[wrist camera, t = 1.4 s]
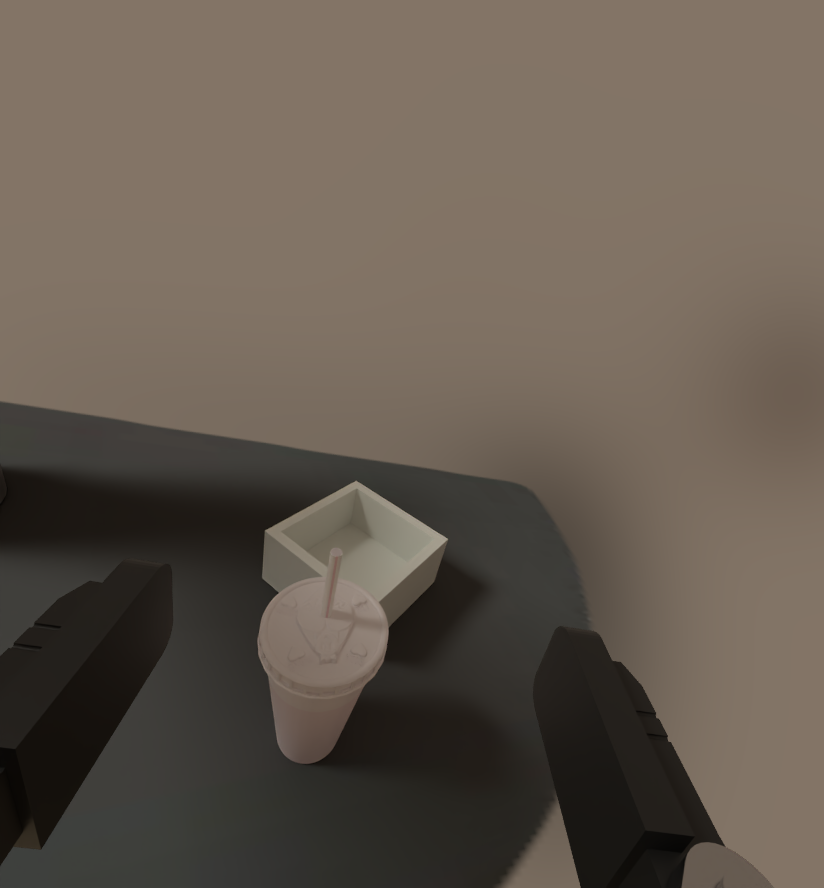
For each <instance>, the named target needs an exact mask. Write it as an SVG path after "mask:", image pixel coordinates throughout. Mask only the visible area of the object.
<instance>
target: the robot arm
mask: <svg viewBox="0 0 824 888" xmlns="http://www.w3.org/2000/svg"><path fill="white" fill-rule="evenodd" d="M6 492H7V486H6V482H5V479H4V475H3V472H2V468H1V465H0V503H1V502H2V501H3V499H4V498H5V496H6ZM172 626H173V599H172V571H171V567H170V565H168V564H164V563H157V562H151V561H144V560H138V559H131V558H128V559H126V560H124V561H123V562H121V563H120V564H119V565H118V566H117V568H116V569H115V570H114V571H113V572H112V573H111V574H110V575H109V576H108V577H107V578H106V579H105V580H104V582H103V583H100V582H93V581H89V582H87V583H85V584H83V585H82V586H80V587H78V588H76V589H75V590H73V591H71V592H70V593H68V594H66V595H64V596H63V597H61V598H59V599H58V600H57V601H56V602H55V603H54V604H53V605H52V606H51V607H50V608H49V609H48V610H47V611H46V612H45V613H44V614H43V615H42V616H41V617H40V618H39V619H38V620H37V621H35V622H34V626H33V627H32V628H30V627H29V628H28V629H27V630H26V631H25V632H24V633H23V634H22V635H21V636H20V637H19V638H18V639H17V640H16V641H15V642H14V645H13V647H12V648H11V649H10V648H8V649H7V650H6V651H5V652H4V653H3V654H2V655H1V656H0V865H1V864H2V862H3V861H4V859H5V858H6V856H7V855H8V853H9V852H10V850H11V849H12V847H21V848H30V849H39V850H41V849H42V847H43V846H44V844H45V842H46V841H47V839H48V838H49V836H50V834H51V833H52V831H53V830H54V828H55V826H56V825H57V823H58V822H59V820H60V818H61V817H62V815H63V813H64V812H65V810H66V809H67V807H68V805H69V804H70V802H71V801H72V799H73V797H74V796H75V794H76V793H77V791H78V789H79V788H80V786H81V784H82V783H83V781H84V780H85V778H86V776H87V775H88V773H89V772H90V770H91V768H92V767H93V765H94V764H95V762H96V760H97V759H98V757H99V755H100V754H101V752H102V751H103V749H104V747H105V746H106V744H107V743H108V741H109V739H110V738H111V736H112V735H113V733H114V731H115V730H116V728H117V726H118V725H119V723H120V722H121V720H122V718H123V717H124V715H125V714H126V712H127V710H128V709H129V707H130V706H131V704H132V702H133V701H134V699H135V697H136V696H137V694H138V693H139V691H140V689H141V688H142V686H143V685H144V683H145V681H146V680H147V678H148V677H149V675H150V673H151V672H152V670H153V669H154V667H155V665H156V664H157V662H158V660H159V659H160V657H161V656H162V654H163V652H164V650H165V648H166V646H167V644H168V641H169V638H170V635H171V631H172ZM533 699H534V707H535V711H536V715H537V719H538V723H539V727H540V731H541V734H542V738H543V742H544V746H545V750H546V754H547V758H548V762H549V766H550V769H551V773H552V777H553V781H554V785H555V789H556V793H557V797H558V801H559V804H560V808H561V812H562V816H563V820H564V824H565V828H566V832H567V835H568V839H569V843H570V847H571V851H572V855H573V859H574V863H575V867H576V871H577V875H578V878H579V882H580V886H581V888H774V887H773V886H772V885H771V884H770V883H769V881H768V880H767V879H766V878H765V877H764V876H763V875H762V874H761V873H760V872H759V871H758V870H757V869H756V868H755V867H754V866H753V865H752V864H751V863H749V862H748V861H747V860H746V859H744V858H743V857H741V856H740V855H739V854H737V853H736V852H734V851H732V850H730V849H728V848H726V847H725V845H724V844H723V842H722V840H721V838H720V837H719V835H718V833H717V831H716V829H715V827H714V825H713V823H712V821H711V819H710V817H709V815H708V814H707V812H706V810H705V808H704V806H703V804H702V802H701V800H700V798H699V796H698V794H697V792H696V790H695V788H694V786H693V785H692V782H691V780H690V778H689V777H688V775H687V773H686V771H685V769H684V767H683V765H682V763H681V761H680V759H679V757H678V755H677V753H676V751H675V749H674V747H673V745H672V743H671V742H668V739H667V737H668V736H667V734H666V732H665V730H664V728H663V726H662V724H661V722H660V720H659V719H657V718H656V712H655V710H654V708H653V707H652V704H651V702H650V701H649V699H648V697H647V695H646V693H645V691H644V689H643V687H642V686H641V684H640V683H639V682H638V681H637V680H636V679H635V678H634V677H633V675H632V674H631V673H630V672H629V671H628V670H627V669H626V667H625V666H624V665H623V664H622V663H621V662H616V661H612V660H611V657H610V655H609V653H608V651H607V649H606V647H605V645H604V643H603V640H602V639H601V637H600V635H599V634H598V633H597V632H594V631H589V630H582V629H576V628H569V627H563V626H560V627H558V628H557V629H556V630H555V632H554V634H553V636H552V638H551V641H550V643H549V645H548V648H547V650H546V652H545V654H544V657H543V659H542V661H541V664H540V666H539V668H538V671H537V673H536V676H535V680H534V687H533Z"/></svg>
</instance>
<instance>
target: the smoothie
mask: <svg viewBox="0 0 824 888" xmlns="http://www.w3.org/2000/svg"><path fill="white" fill-rule="evenodd" d="M342 553H343V552H342V550H341V549H339V548H333V549H332V550H331V551H330V557H329V564H328V570H327V576H326V577H315V578H309V579H305V580H301V581H299V582H296V583H294V584H292V585H290V586H288V587H286V588H285V589H283V590H282V591H281V592H280V593H278V594H277V595H276V596H275V597H274V598H273V599H272V601H271V602H270V603H269V604H268V606H267V608H266V609H265V611H264V614H263V616H262V619H261V623H260V631H259V635H258V639H257V641H258V655H259V658H260V660H261V663H262V665H263V668H264V670H265V672H266V673H267V674H268V678H269V685H270V693H271V700H272V707H273V715H274V722H275V729H276V737H277V742H278V745H279V748H280V750H281V751H282V753H283V754H284V755H285V756H286V757H287V758H288V759H290V760H292V761H294V762H296V763H301V764H310V763H314V762H317V761H319V760H321V759H323V758H324V757H326V756H327V755H328V754H329V753H330V752H331V751H332V749H333V748H334V746H335V744H336V742H337V740H338V738H339V736H340V734H341V732H342V730H343V728H344V726H345V724H346V722H347V720H348V718H349V716H350V714H351V712H352V710H353V708H354V706H355V704H356V702H357V700H358V698H359V696H360V694H361V691H362V689H363V687H364V686H365V684H366V683H367V682H369V681H370V680H371V679H372V678H373V677H374V676H375V675H376V673H377V671H378V670H379V668H380V666H381V665H382V663H383V661H384V657H385V653H386V649H387V642H388V635H389V628H388V621H387V617H386V615H385V612H384V610H383V608H382V606H381V605H380V603H379V602H378V601H377V599H376V598H375V597H374V596H373V595H372V594H371V593H370V592H368V591H367V590H366V589H364V588H363V587H361V586H359V585H357V584H355V583H353V582H351V581H348V580H345V579H341V578H338V576H339V570H340V564H341V559H342Z"/></svg>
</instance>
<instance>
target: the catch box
mask: <svg viewBox="0 0 824 888" xmlns="http://www.w3.org/2000/svg"><path fill="white" fill-rule="evenodd" d="M447 541H448V539H447V538H445V537H444V536H442V535H440V534H439V533H437V532H436V531H434V530H433V529H431V528H429V527H428V526H426V525H425V524H423V523H422V522H420V521H418V520H417V519H415V518H414V517H412V516H411V515H409V514H407V513H406V512H404V511H403V510H401V509H400V508H398V507H396V506H395V505H393V504H392V503H390V502H389V501H387V500H385V499H384V498H382V497H381V496H379V495H378V494H376V493H375V492H373V491H371V490H370V489H368V488H367V487H365V486H364V485H362V484H360V483H359V482H357V481H355V482H353V483H351V484H349V485H348V486H346V487H344V488H342V489H340V490H339V491H337V492H335V493H333V494H331V495H329V496H328V497H326V498H324V499H322V500H320V501H318V502H317V503H315V504H313V505H311V506H309V507H307V508H306V509H304V510H302V511H300V512H298V513H296V514H295V515H293V516H291V517H289V518H287V519H285V520H284V521H282V522H280V523H278V524H276V525H274V526H273V527H271V528H269V529H267V530H265V537H264V554H263V571H262V579H264V580H265V581H266V582H267V583H268V584H269V585H271V586H272V587H273V588H274V589H275V590H276V591H278V592H279V593H280V592H281V591H282V590H283V589H285V588H286V587H288V586H290V585H292V584H294V583H296V582H299V581H301V580H305V579H309V578H315V577H326V576H327V570H328V564H329V557H330V551H331V550H332V549H333V548H339V549H341V550H342V552H343V553H342V559H341V564H340V570H339V576H338V578H341V579H345V580H348V581H351V582H353V583H355V584H357V585H359V586H361V587H363V588H364V589H366V590H367V591H368V592H370V593H371V594H372V595H373V596H374V597H375V598H376V599H377V601H378V602H379V603H380V605H381V606H382V608H383V610H384V612H385V615H386V617H387V621H388V628H389V627H390V626H391V625H392V624H393V623H394V622H395V621H396V620H397V619H398V618H399V617H400V616H401V615H402V614H403V613H404V612H405V611H406V610H407V609H408V608H409V607H410V606H411V605H412V604H413V603H414V602H415V601H416V600H417V599H418V598H419V597H420V596H421V595H422V594H423V593H424V592H425V591H426V590H427V589H428V588H429V587H430V586H431V585H432V584H433V583H434V581H435V578H436V575H437V572H438V569H439V565H440V562H441V559H442V556H443V553H444V550H445V547H446V544H447Z"/></svg>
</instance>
